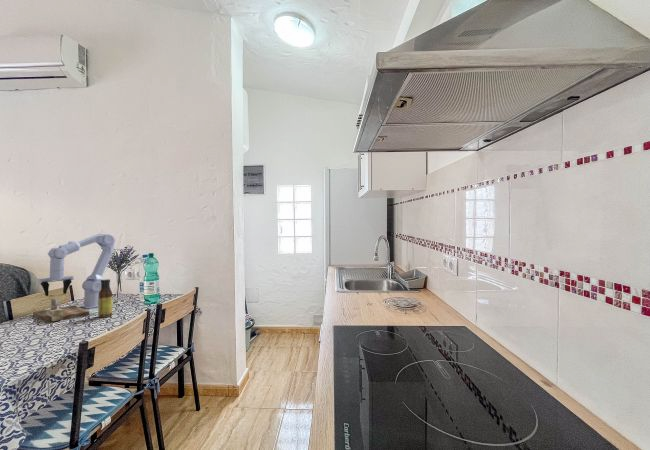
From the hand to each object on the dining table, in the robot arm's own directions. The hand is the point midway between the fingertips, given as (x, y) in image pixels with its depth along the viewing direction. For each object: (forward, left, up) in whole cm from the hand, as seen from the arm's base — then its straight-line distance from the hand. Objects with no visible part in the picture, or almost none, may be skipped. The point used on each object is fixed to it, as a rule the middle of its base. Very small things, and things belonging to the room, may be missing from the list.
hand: (55, 294), depth 170 cm
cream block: (+4, +13, -10) cm, 17 cm away
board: (-1, +6, -10) cm, 12 cm away
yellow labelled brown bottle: (-14, +25, -11) cm, 31 cm away
